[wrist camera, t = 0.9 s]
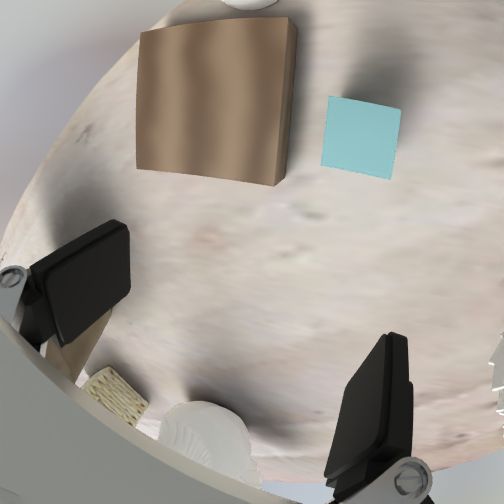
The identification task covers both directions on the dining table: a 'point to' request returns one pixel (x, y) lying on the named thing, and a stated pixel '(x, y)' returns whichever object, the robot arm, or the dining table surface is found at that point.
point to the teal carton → (360, 137)
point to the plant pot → (75, 349)
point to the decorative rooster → (211, 440)
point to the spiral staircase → (499, 374)
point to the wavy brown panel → (217, 98)
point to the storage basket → (116, 395)
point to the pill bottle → (249, 4)
